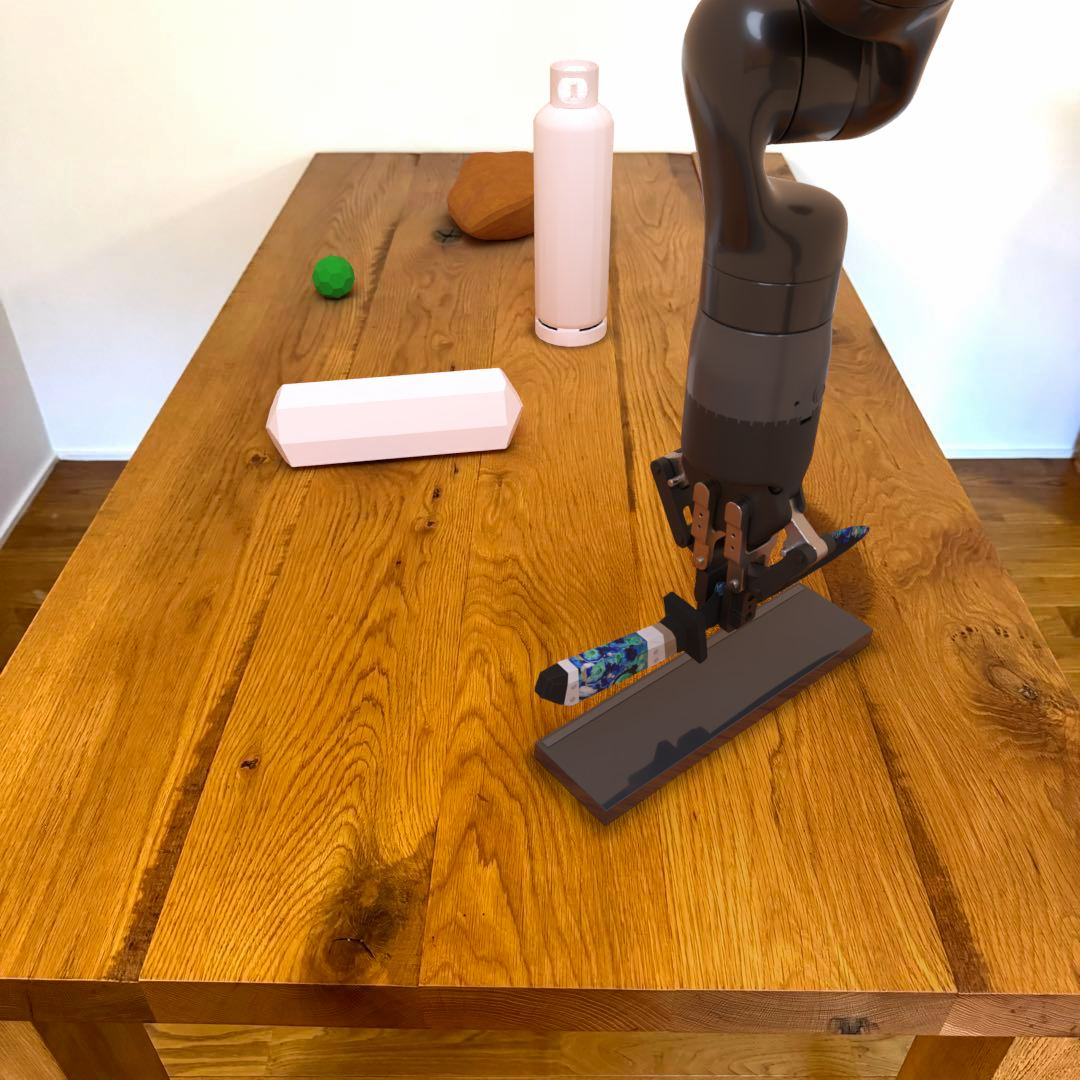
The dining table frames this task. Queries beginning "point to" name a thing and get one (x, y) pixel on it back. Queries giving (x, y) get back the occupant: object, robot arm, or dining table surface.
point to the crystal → (393, 417)
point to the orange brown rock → (494, 195)
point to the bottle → (572, 209)
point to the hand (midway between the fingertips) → (722, 616)
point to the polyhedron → (333, 276)
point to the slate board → (698, 702)
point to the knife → (654, 640)
